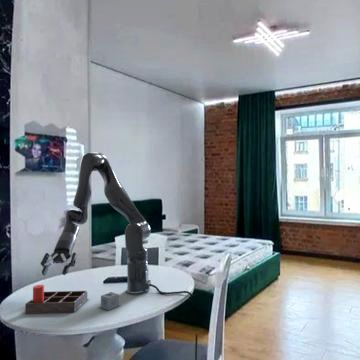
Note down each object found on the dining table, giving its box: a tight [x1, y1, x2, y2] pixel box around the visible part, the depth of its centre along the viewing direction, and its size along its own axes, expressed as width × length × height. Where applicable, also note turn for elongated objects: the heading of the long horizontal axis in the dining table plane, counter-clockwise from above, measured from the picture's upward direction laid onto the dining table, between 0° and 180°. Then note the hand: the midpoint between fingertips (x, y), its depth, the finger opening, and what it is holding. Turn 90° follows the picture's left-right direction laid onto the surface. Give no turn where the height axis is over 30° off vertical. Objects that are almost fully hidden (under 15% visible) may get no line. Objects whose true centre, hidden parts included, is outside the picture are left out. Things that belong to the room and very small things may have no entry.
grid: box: [24, 290, 88, 314], centre depth 131 cm, size 19×13×4 cm
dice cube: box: [100, 291, 120, 311], centre depth 130 cm, size 5×5×5 cm
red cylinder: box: [32, 284, 45, 303], centre depth 127 cm, size 4×4×9 cm
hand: (53, 274), depth 139 cm, fingers open, 8 cm apart
